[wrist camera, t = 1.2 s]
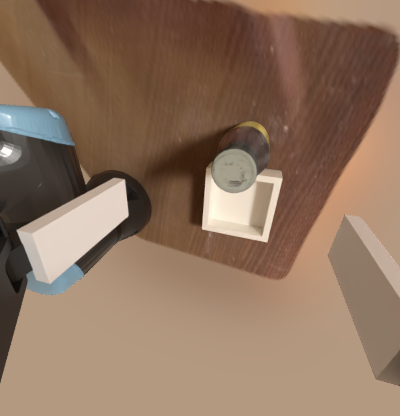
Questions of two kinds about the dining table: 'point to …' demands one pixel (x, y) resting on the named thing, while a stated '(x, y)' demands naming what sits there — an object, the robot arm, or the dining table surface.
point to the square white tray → (242, 206)
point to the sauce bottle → (241, 157)
